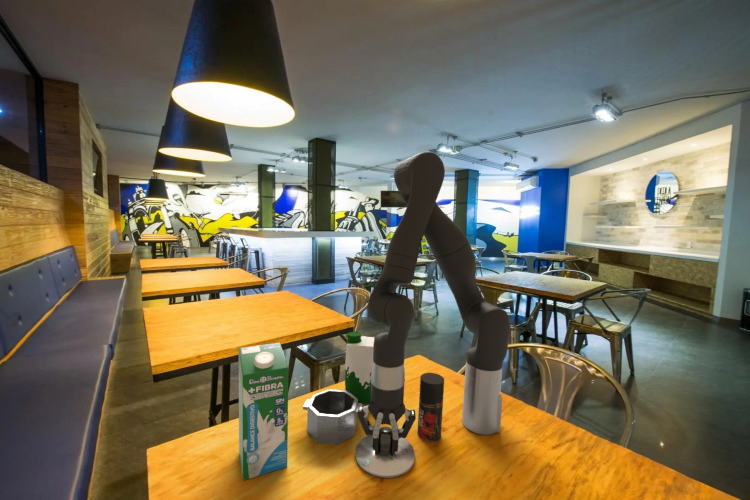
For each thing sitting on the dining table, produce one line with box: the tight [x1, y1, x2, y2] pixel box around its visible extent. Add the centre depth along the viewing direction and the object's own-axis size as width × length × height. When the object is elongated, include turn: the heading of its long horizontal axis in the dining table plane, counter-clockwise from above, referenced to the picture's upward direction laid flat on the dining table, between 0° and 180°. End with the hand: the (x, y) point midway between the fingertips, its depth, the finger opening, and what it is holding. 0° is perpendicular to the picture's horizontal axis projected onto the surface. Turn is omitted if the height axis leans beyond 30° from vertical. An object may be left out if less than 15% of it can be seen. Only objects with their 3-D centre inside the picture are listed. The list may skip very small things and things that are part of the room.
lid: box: [355, 426, 416, 479], centre depth 75 cm, size 14×14×6 cm
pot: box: [302, 388, 363, 445], centre depth 84 cm, size 15×12×7 cm
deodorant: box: [417, 372, 445, 443], centre depth 82 cm, size 6×6×15 cm
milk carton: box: [238, 342, 289, 481], centre depth 71 cm, size 9×9×25 cm
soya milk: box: [344, 331, 375, 405], centre depth 98 cm, size 9×9×20 cm
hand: (385, 450), depth 75 cm, fingers closed on lid, 3 cm apart
